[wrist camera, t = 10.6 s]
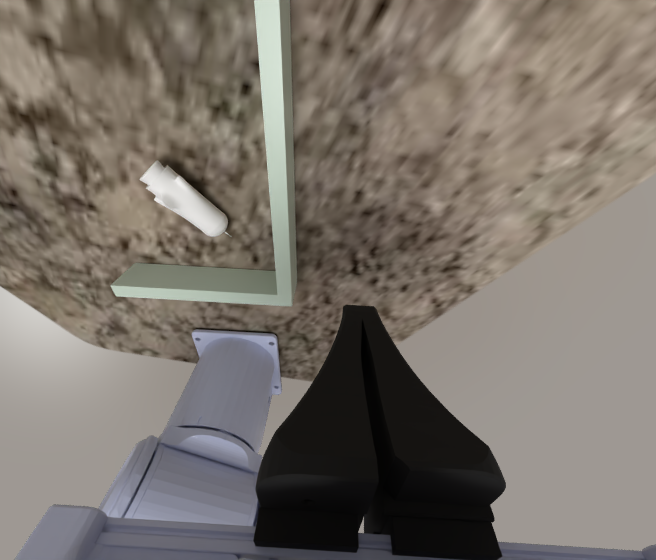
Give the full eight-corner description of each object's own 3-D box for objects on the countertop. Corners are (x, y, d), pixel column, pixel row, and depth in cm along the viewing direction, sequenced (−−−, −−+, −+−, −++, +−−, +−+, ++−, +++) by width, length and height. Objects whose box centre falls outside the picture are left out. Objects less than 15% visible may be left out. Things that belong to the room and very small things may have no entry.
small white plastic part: (194, 240, 22) (174, 262, 19) (151, 158, 18) (121, 171, 16) (238, 233, 21) (224, 255, 19) (203, 147, 18) (180, 160, 15)
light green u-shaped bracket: (297, 282, 23) (291, 306, 21) (139, 273, 23) (115, 296, 21) (288, -41, 13) (276, -68, 10) (0, -56, 13) (-79, -86, 10)
